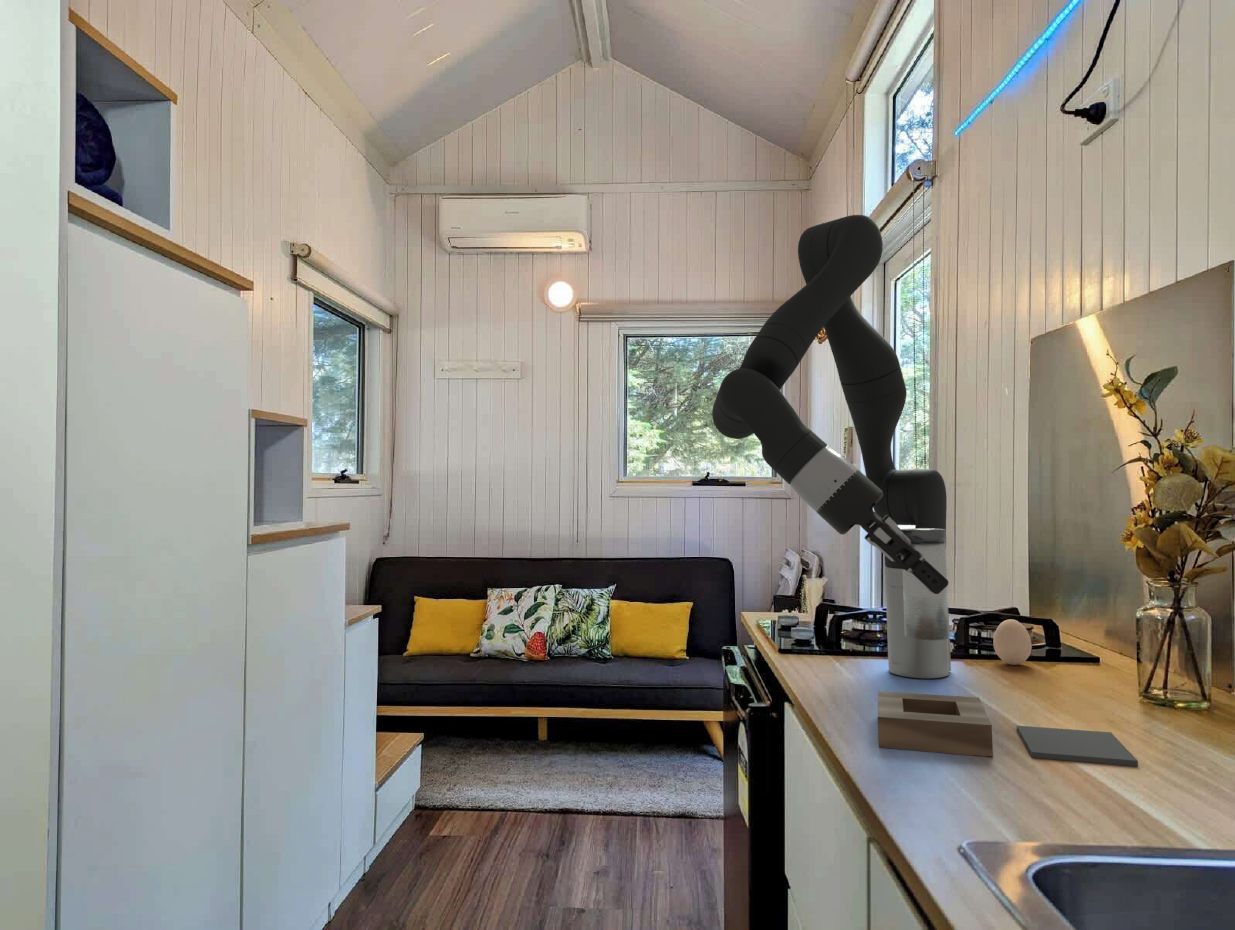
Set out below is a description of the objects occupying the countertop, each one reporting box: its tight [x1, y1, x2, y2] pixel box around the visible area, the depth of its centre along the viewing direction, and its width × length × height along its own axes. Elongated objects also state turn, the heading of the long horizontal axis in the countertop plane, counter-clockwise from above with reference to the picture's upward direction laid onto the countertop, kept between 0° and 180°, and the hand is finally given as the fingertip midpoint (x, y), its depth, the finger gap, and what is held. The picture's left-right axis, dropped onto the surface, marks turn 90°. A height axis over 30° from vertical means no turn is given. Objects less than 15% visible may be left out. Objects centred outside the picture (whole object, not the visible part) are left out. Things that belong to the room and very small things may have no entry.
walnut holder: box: [877, 690, 994, 758], centre depth 91 cm, size 12×12×4 cm
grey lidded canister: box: [900, 528, 950, 640], centre depth 92 cm, size 5×5×13 cm
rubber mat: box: [1016, 725, 1139, 767], centre depth 86 cm, size 10×10×1 cm
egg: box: [992, 618, 1033, 666], centre depth 127 cm, size 6×6×8 cm
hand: (941, 585), depth 91 cm, fingers closed on grey lidded canister, 5 cm apart
